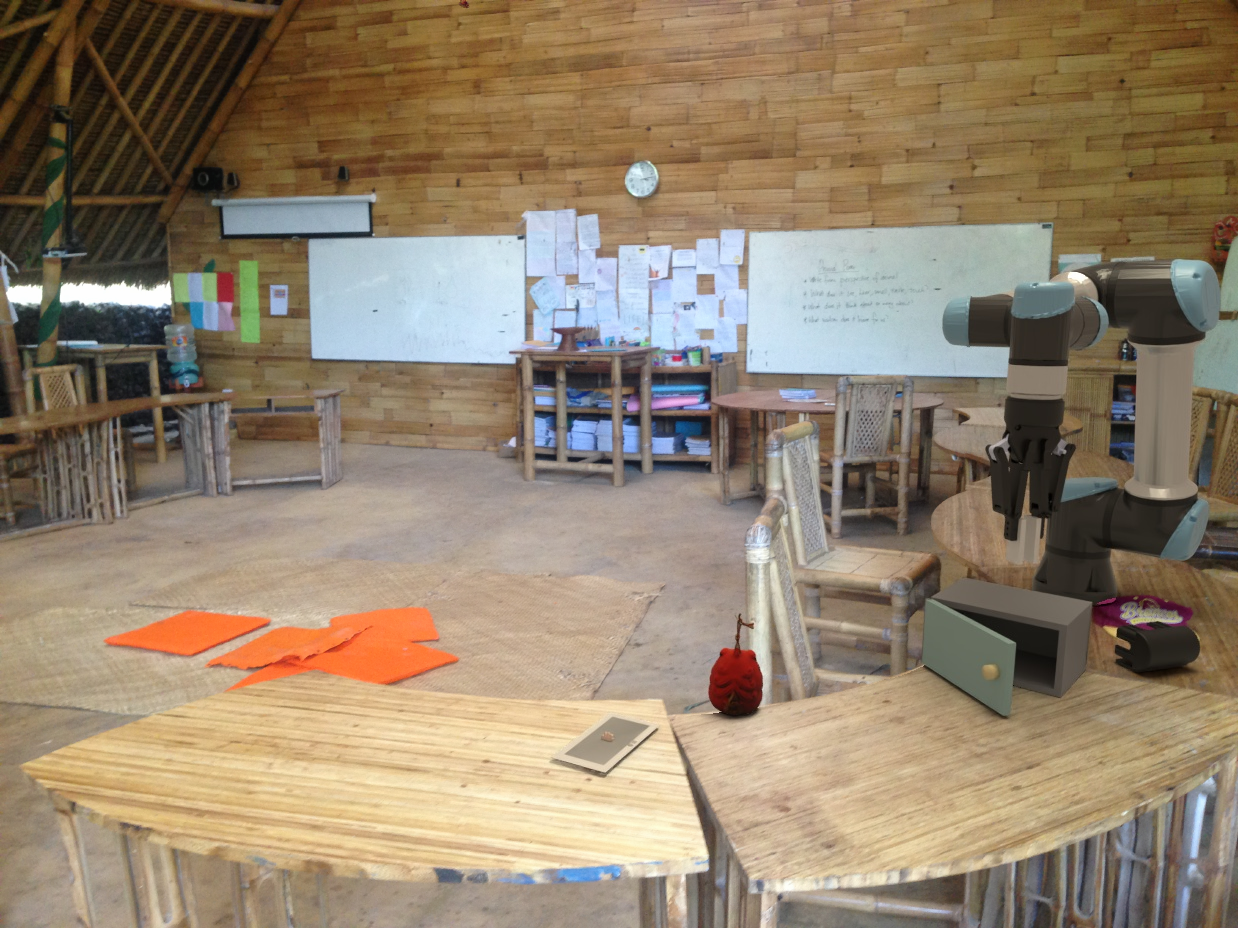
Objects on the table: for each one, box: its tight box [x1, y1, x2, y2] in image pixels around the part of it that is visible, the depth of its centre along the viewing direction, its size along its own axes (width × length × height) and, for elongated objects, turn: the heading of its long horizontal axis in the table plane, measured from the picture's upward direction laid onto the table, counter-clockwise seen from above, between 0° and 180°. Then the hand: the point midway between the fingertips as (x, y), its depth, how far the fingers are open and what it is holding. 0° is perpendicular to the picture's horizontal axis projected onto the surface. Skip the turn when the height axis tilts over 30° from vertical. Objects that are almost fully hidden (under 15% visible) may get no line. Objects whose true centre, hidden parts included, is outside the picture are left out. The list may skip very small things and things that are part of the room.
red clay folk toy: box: [707, 612, 764, 716], centre depth 130 cm, size 8×7×15 cm
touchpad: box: [550, 711, 662, 773], centre depth 120 cm, size 8×15×2 cm, turn 151°
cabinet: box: [930, 577, 1093, 699], centre depth 146 cm, size 14×20×11 cm
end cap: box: [1114, 620, 1201, 673], centre depth 146 cm, size 10×7×7 cm
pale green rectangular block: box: [920, 597, 1016, 716], centre depth 137 cm, size 3×20×10 cm, turn 15°
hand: (1021, 561), depth 132 cm, fingers open, 2 cm apart
